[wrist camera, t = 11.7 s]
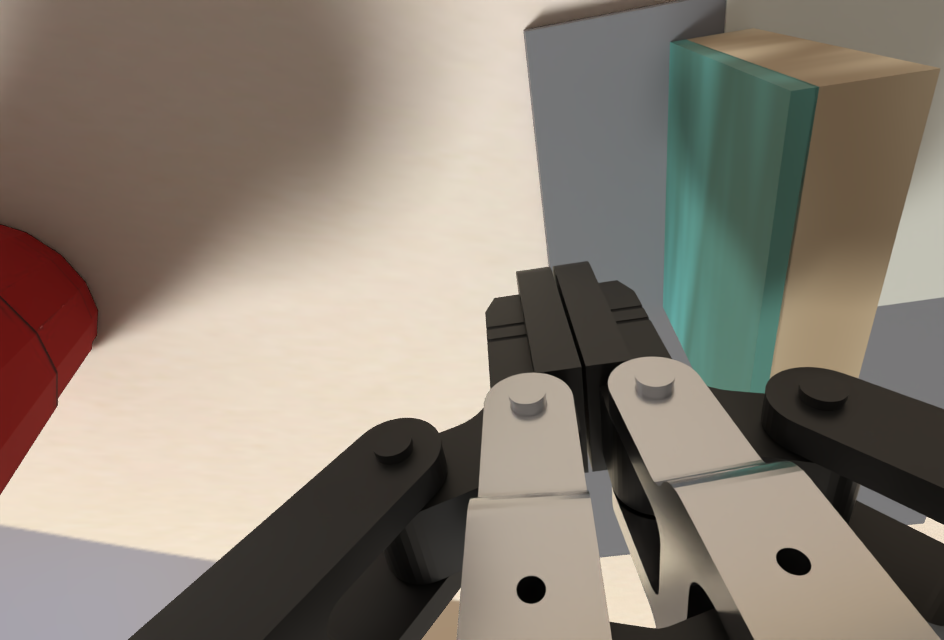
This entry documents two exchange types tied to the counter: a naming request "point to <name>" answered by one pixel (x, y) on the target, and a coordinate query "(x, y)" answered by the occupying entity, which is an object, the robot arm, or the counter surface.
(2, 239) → the plastic cup
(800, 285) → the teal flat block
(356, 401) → the counter surface
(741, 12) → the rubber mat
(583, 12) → the counter surface
